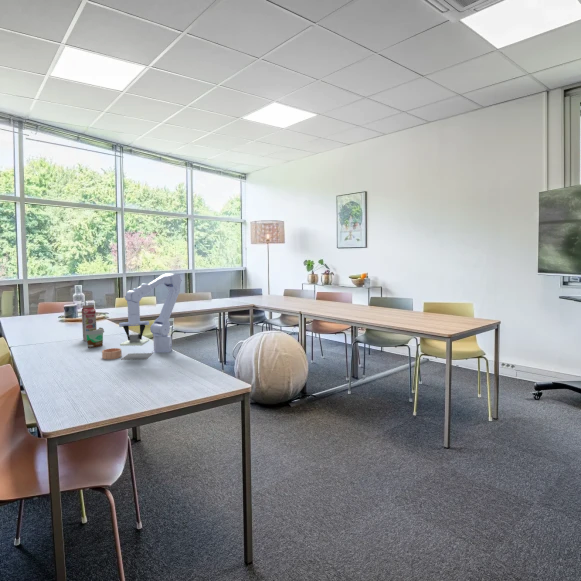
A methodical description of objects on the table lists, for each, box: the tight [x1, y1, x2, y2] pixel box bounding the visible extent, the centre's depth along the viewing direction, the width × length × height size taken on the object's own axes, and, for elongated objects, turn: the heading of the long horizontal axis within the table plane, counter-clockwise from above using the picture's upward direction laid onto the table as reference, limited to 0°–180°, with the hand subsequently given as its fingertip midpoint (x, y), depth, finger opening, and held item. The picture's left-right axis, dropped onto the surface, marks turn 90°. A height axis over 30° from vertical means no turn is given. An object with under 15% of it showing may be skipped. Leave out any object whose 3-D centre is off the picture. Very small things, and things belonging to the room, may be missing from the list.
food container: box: [86, 327, 105, 349], centre depth 241 cm, size 12×6×10 cm, turn 168°
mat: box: [120, 352, 154, 361], centre depth 216 cm, size 13×13×1 cm
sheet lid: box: [119, 332, 150, 347], centre depth 215 cm, size 11×11×5 cm
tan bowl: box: [101, 347, 123, 360], centre depth 215 cm, size 9×9×4 cm
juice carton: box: [81, 304, 97, 342], centre depth 258 cm, size 7×7×22 cm
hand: (134, 339), depth 215 cm, fingers closed on sheet lid, 5 cm apart
